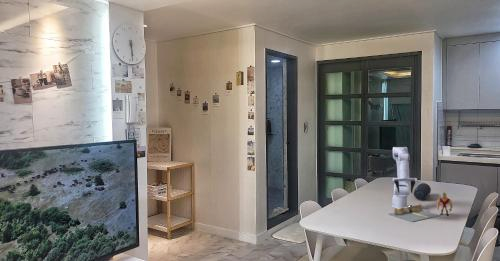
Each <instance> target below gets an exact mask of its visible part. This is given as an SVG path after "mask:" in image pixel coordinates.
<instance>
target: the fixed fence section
mask: <svg viewBox="0 0 500 261" xmlns="http://www.w3.org/2000/svg"><path fill="white" fill-rule="evenodd" d="M418 210H422V203H418V204H416V205H414V204H413V205H412V212H413V211H418Z"/></svg>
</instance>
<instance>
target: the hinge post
mask: <svg viewBox="0 0 500 261" xmlns="http://www.w3.org/2000/svg"><path fill="white" fill-rule="evenodd" d="M412 206H413V205H412V204H407V207H409V212H410V213H412Z"/></svg>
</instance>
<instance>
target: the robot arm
mask: <svg viewBox="0 0 500 261" xmlns="http://www.w3.org/2000/svg"><path fill="white" fill-rule="evenodd" d="M408 151H409V150H408V147H407V146H403V147H402V146H398V147H397V146H393V147H392V158H393V160H394V161H395V163H396V174H397V177H392V182H393V183H394V184H393V196H392V198H391V199H392V200H391V202H392V205H391V208H393V209H394V208H397V209H398V208H404V207H408V196H410V193H411V194H412V193H414V187H415V184H416V182H418V178H417V177H410V153H409V152H408ZM407 182H410V185H409V183H407Z"/></svg>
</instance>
